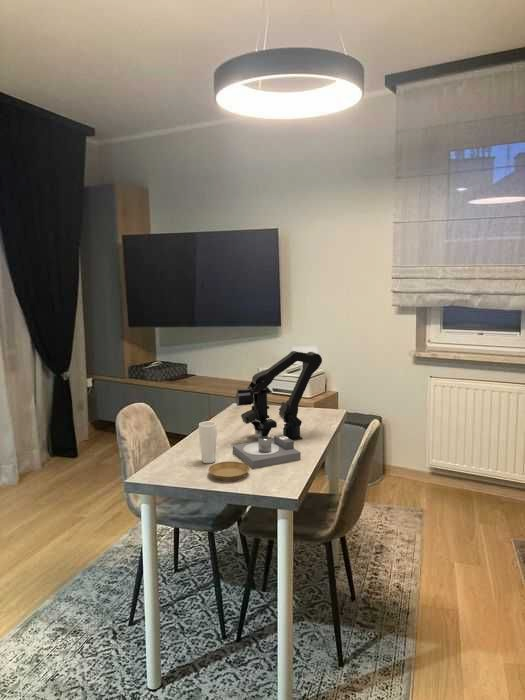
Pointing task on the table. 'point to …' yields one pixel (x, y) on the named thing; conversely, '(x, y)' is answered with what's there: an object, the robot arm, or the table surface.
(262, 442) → the cylinder
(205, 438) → the drinking glass
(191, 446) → the table surface
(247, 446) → the kitchen scale
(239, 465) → the plant saucer
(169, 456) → the table surface
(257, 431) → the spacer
